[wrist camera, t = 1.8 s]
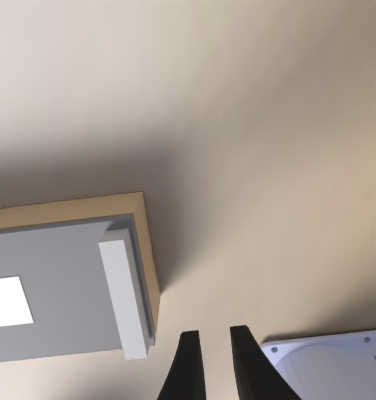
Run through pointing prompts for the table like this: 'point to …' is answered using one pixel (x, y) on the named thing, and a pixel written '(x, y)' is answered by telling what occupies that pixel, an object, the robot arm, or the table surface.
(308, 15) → the table surface
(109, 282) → the lid
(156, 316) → the box
